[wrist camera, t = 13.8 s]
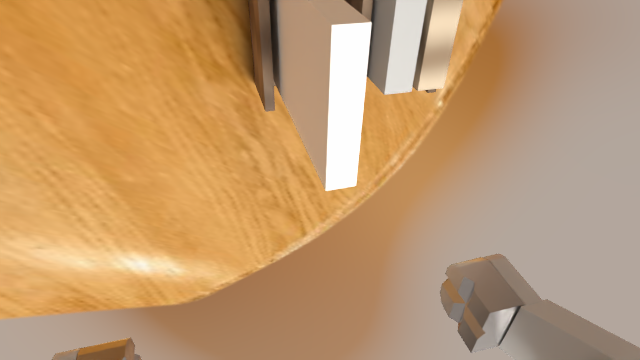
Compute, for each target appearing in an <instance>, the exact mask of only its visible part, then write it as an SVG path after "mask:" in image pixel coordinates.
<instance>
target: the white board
mask: <svg viewBox="0 0 640 360" xmlns="http://www.w3.org/2000/svg"><path fill="white" fill-rule="evenodd" d="M269 8H270V27H271V46H272V64H273V80H274V82H275V84H276V86H277V88H278V91H279V93H280V95H281V97H282V99H283V101H284V103H285V106H286V108H287V110H288V112H289V114H290V116H291V118H292V120H293V123H294V125H295V127H296V129H297V131H298V133H299V135H300V137H301V140H302V142H303V144H304V146H305V148H306V150H307V152H308V155H309V157H310V159H311V161H312V163H313V165H314V167H315V169H316V172H317V174H318V176H319V178H320V180H321V182H322V184H323V187H324V189H325V191H329V190H335V189H341V188H347V187H352V186H356V181H357V171H358V160H359V150H360V139H361V129H362V118H363V108H364V97H365V87H366V77H367V66H368V56H369V45H370V35H371V24H372V22H371V21H370V20H368V19H367V18H366V17H365V16H363V15H362V14H361V13H359V12H358V11H357V10H356V9H354V8H353V7H352V6H351V5H349V4H348V3H347V2H346V1H344V0H269Z"/></svg>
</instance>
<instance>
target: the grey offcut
mask: <svg viewBox="0 0 640 360" xmlns="http://www.w3.org/2000/svg"><path fill="white" fill-rule="evenodd" d="M426 4H427V0H373V3H372V14H371V22H372V24H371V35H370V45H369V56H368V66H367V76H368V77H369V79H370V80H371V81H372V82H373V83H374V84H375V85H376V86H377V87H378V88H379V89H380V91H381V92H382V93H383V94H384V95H386V94H395V93H404V92H411V91H412V85H413V80H414V74H415V68H416V62H417V56H418V51H419V45H420V39H421V33H422V27H423V21H424V16H425V10H426Z"/></svg>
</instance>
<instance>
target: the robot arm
mask: <svg viewBox="0 0 640 360" xmlns="http://www.w3.org/2000/svg"><path fill="white" fill-rule="evenodd" d="M445 274H446V275H447V276H448V279H447V280H446V281H445V282H444V283H443V284H442V286H441V290H440V296H441V302H442V304H443V307H444V309H445V311H446V313H447V315H448V316H449V317H450V318H451V319H453V320H455V321H456V322H458V333H459V334H460V336H461V338H462V339H463V341H464V342H465V344H466V345H467V347H468V349H469V350H470V352H471V353H473V352H477V351H481V350H485V349H489V348H493V347H497V346H499V348H500V349H501V350H503V351H504V352H505V353H507V354H508V355H509V356H510V357H512V358H513V359H514V360H640V348H639V347H637V346H635V345H633V344H631V343H629V342H627V341H625V340H624V339H622V338H620V337H618V336H616V335H614V334H612V333H610V332H608V331H606V330H605V329H603V328H601V327H599V326H597V325H595V324H593V323H591V322H589V321H587V320H585V319H584V318H582V317H580V316H578V315H576V314H574V313H572V312H570V311H568V310H566V309H564V308H562V307H560V306H559V305H556V304H555V303H553V302H551V301H549V300H542V299H541V298H540V297H539V296H538V295H537V293H536V292H535V291H534V290H533V289H532V288H531V286H530V285H529V284H528V283H527V282H526V281H525V280H524V278H523V277H522V276H521V275H520V274H519V272H517V270H516V269H515V268H514V267H513V265H512V264H511V263H510V262H509V261H508V260H507V258H506V257H505V256H503V255H501V254H495V255H490V256H486V257H482V258H481V257H480V258H476V259H472V260H468V261H464V262H460V263H456V264H452V265H450V266H449V267H448V268H447V271H446V273H445ZM134 353H135V344H134V342H133V341H132V339H131V338H126V339H121V340H117V341H112V342H108V343H103V344H99V345H94V346H89V347H85V348H79V349H74V350H70V351H66V352H61V353H57V354H55V355H54V357H53V359H52V360H142V359H141V357H140V355H137V354H134Z"/></svg>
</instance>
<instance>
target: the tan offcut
mask: <svg viewBox="0 0 640 360" xmlns="http://www.w3.org/2000/svg"><path fill="white" fill-rule="evenodd" d="M462 3H463V0H427V4H426V10H425V16H424V21H423V27H422V33H421V39H420V45H419V51H418V56H417V62H416V68H415V74H414V80H413V85H412V86H413V87H414V88H415V89H416V90H417V91H421V90H430V89H439V88H444V84H445V79H446V75H447V71H448V66H449V62H450V57H451V53H452V48H453V44H454V39H455V35H456V30H457V26H458V21H459V17H460V12H461V8H462Z"/></svg>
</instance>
